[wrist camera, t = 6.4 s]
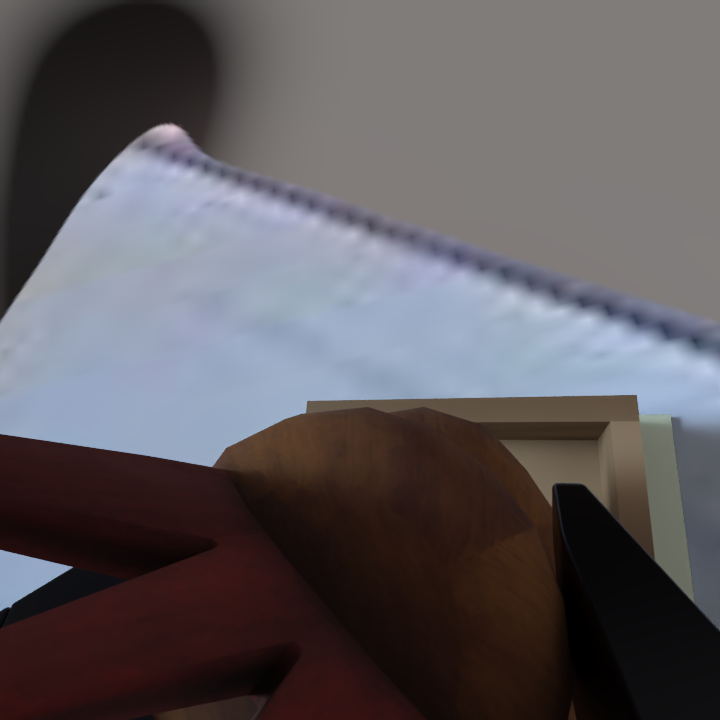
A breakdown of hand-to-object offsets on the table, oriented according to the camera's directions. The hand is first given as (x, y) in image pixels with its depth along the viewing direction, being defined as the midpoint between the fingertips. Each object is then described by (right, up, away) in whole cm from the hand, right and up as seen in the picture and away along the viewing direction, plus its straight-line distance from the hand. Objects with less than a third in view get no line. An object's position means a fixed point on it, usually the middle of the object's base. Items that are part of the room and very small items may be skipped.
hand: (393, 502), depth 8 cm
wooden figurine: (+2, -4, +7) cm, 8 cm away
